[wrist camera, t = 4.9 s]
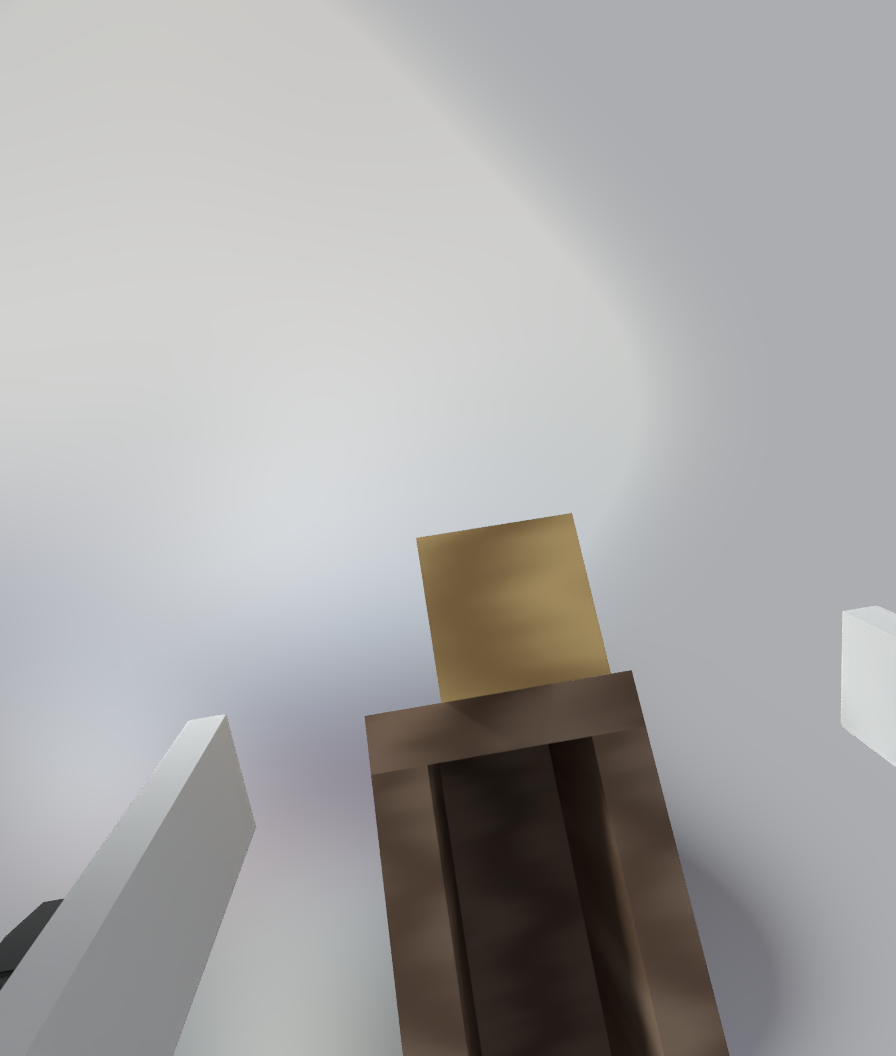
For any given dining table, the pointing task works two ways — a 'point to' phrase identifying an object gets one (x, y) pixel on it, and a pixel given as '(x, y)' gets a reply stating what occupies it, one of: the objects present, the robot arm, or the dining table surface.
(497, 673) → the ochre bar
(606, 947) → the walnut stand
